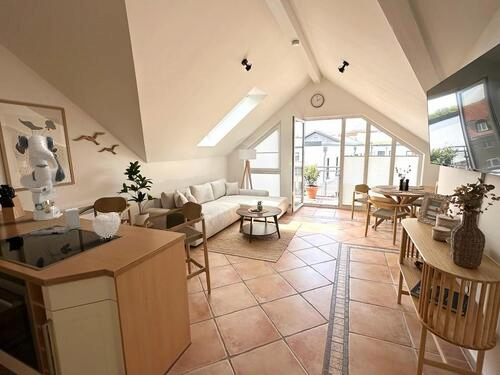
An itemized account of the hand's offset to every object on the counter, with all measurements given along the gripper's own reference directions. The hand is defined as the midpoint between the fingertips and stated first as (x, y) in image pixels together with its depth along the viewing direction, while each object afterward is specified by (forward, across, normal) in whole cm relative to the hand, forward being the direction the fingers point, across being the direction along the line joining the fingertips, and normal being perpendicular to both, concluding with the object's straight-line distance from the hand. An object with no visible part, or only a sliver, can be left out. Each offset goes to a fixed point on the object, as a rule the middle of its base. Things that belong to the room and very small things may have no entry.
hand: (46, 207), depth 171 cm
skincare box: (+19, -9, +11) cm, 24 cm away
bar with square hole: (+19, 0, 0) cm, 19 cm away
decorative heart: (+19, +19, +46) cm, 53 cm away
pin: (+4, 0, 0) cm, 4 cm away
